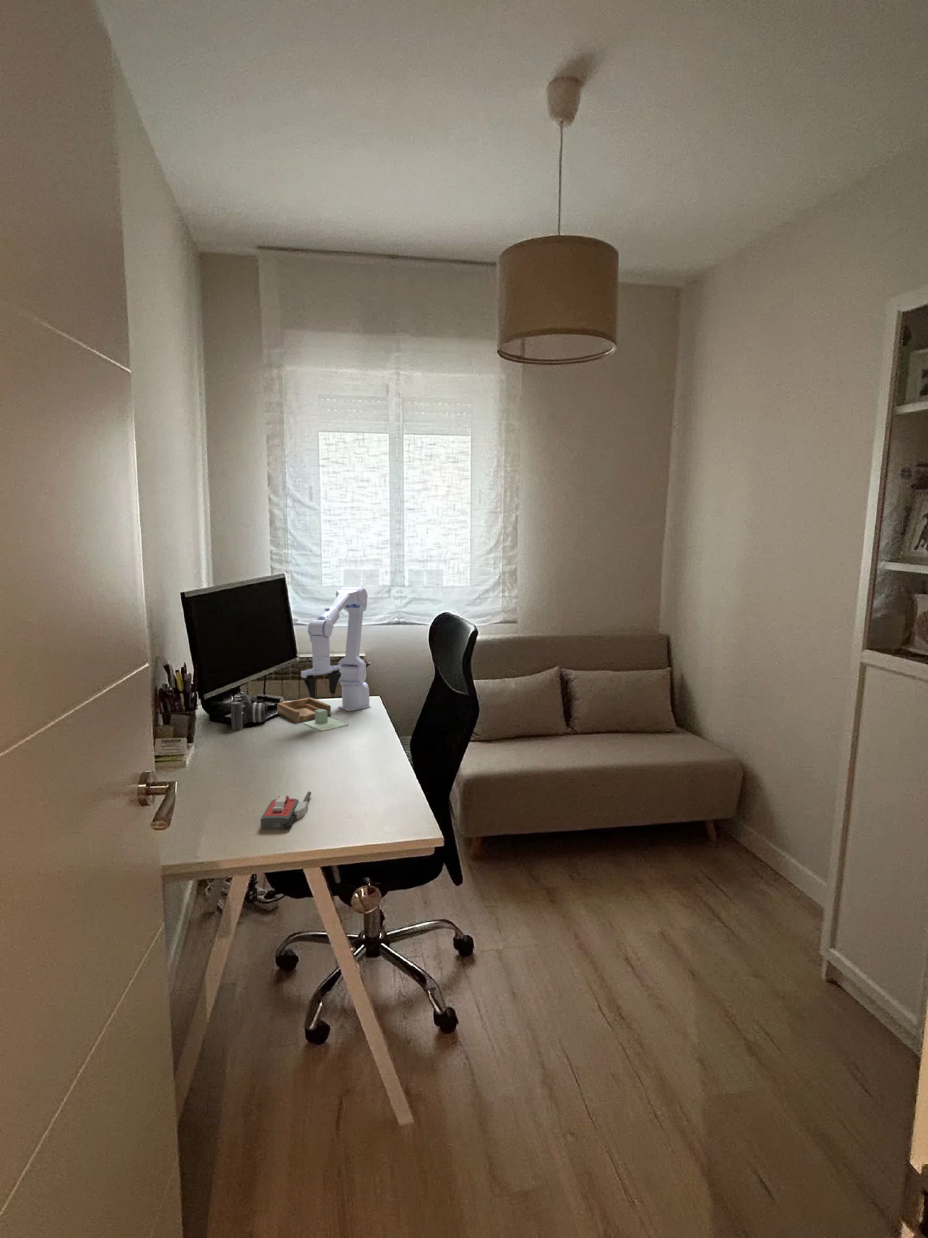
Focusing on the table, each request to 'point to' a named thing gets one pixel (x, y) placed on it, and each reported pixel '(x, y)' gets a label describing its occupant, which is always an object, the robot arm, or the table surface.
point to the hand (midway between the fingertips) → (322, 695)
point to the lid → (324, 721)
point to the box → (301, 709)
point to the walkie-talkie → (283, 812)
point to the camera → (246, 711)
